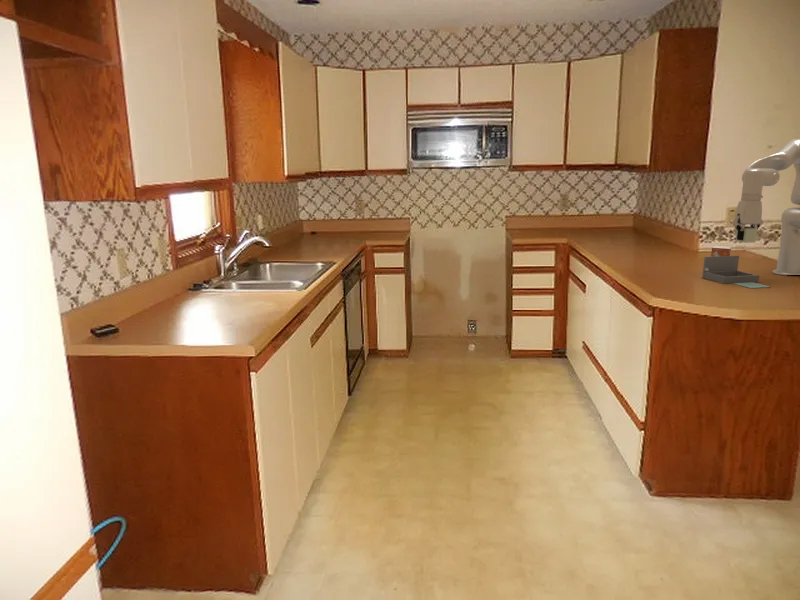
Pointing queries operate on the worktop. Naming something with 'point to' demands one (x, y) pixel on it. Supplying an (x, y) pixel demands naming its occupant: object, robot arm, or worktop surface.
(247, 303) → the worktop surface
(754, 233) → the block
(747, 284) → the mat
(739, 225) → the robot arm
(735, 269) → the grey open box
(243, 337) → the worktop surface
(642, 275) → the worktop surface
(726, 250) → the small box
